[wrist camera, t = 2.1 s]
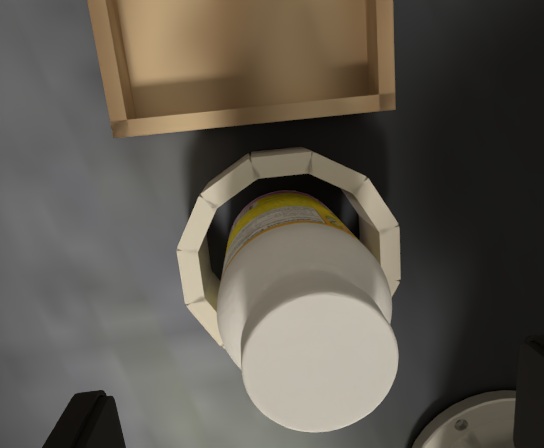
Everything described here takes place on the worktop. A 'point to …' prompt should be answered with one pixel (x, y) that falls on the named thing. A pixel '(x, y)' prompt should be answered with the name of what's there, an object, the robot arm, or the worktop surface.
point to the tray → (241, 61)
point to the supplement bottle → (305, 314)
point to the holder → (273, 163)
